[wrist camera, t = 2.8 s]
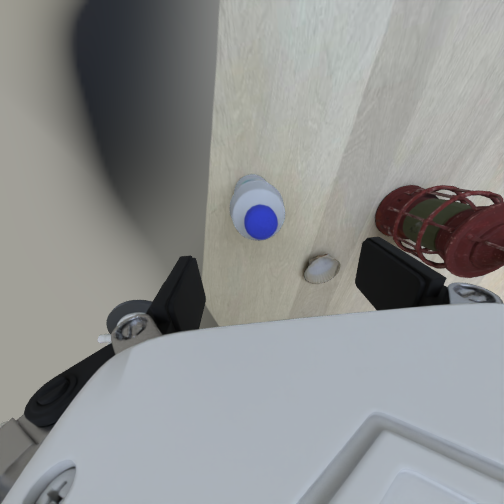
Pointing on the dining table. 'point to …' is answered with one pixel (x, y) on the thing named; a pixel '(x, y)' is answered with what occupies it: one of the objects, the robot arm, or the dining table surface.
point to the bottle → (256, 208)
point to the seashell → (321, 269)
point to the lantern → (446, 227)
